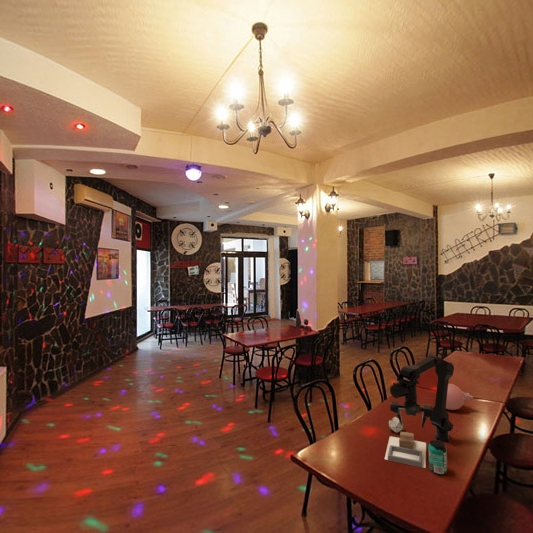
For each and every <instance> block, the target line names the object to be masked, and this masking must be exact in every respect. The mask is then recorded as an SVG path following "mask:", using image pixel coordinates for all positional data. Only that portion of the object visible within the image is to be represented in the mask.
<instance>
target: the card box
mask: <svg viewBox="0 0 533 533" xmlns="http://www.w3.org/2000/svg"><path fill="white" fill-rule="evenodd" d="M398 438H399V447H403V448H408V449H413V446H414V441H415V439H414V438H415V436H414V433H412V432H407V431H403V430H401V431H400V432H399V437H398Z"/></svg>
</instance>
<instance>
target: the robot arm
mask: <svg viewBox="0 0 533 533" xmlns="http://www.w3.org/2000/svg"><path fill="white" fill-rule="evenodd" d="M432 368H434V373H435V374H436V376H437V382H436V389H435V390H436V392H435V401H434V406H432V405H427V404H423V406H421V404H418V394H417V393H418V392H417V389H418V388H417V385H420V381H418V380H419V379H420V378H421V375H422V374H423V373H425V372H427V371H429V370H431V369H432ZM454 371H455V365H454V364H453V362H451V361H446V360H444V359H442V358H441V357H440V356H436V355H428V357H427V358H424V359H422V360H420V361H419V362H418V363H415V364H410V365H405V366H402V368H401V370H400V372H399V374H398V376H397V378H396V382H393V384H392V385H391V386H390V389H389V392H390V394H391V396H392V398H395V399H399V398H403V399H404V401H403V404H400V401H394V400H393V401H391V402H390V405H389V407H390V408H389V409H390V410H389V411H390V412H393V414H396V415H397V418H398V419H399V421H400V423H401V425H402V422H403V418H402V417H403V416H402V413H401V410H403V411H405V412H404V413H405V415H406V416H413V417H415V416H417V415H418V414H421V413H422V418H421V428H422V429H423V428H424V426H425V423H426V421H427V419H428V418H429V421H430V423H431V425H432V426H434V427H435V434H434V436H435V439H434V440H436V441H440V442H442V443H451V439H450V438H451V437H450V433H449V432H452V430H453V429H454V423H452V422H451V421H450V419H449V418H450V415H449V413H448V409H446V401H447V391H448V383H449V380H450V379H451V378H452V377H453V375H454Z"/></svg>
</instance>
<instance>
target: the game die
mask: <svg viewBox="0 0 533 533" xmlns="http://www.w3.org/2000/svg"><path fill="white" fill-rule="evenodd" d="M387 422H388V427H387V429H390V430H391V431H393V432H394V433H395V434H398V433H401V431H403V430H406V429H405V428H404V421H402V425H401V423H400V421H399V418H398V416H397V417H396V415H394V417H392V418H390V419H389V420H387Z"/></svg>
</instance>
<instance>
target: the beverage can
mask: <svg viewBox="0 0 533 533" xmlns="http://www.w3.org/2000/svg"><path fill="white" fill-rule="evenodd" d="M427 447H428V449H427V450H428V469H429V471H430V472H431V473H432V474H433V475H434V476H435V475H436V476H440V477H443V476H445V475H447V474H448V473H449V472H448V454H447V451H448V450H447V447H446V444H445V442H443V441H438V440H435V439H434V440H430V441H429V444H428V445H427Z"/></svg>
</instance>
